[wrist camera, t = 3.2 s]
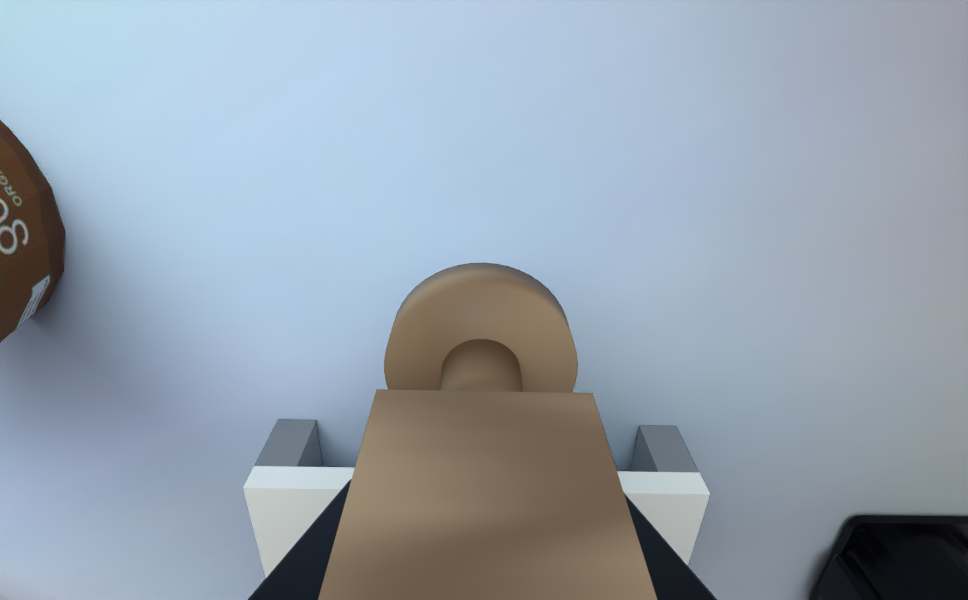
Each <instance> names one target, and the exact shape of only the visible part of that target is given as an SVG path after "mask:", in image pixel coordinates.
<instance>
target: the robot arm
mask: <svg viewBox="0 0 968 600" xmlns="http://www.w3.org/2000/svg"><path fill="white" fill-rule="evenodd" d="M351 480H352V479H350V480H349V481H348V482H347V483H346V485H345V486H344V487H343V488H342V489H341V490H340V492H339V493H338V494H337V495H336V496H335V497H334V499H333V500H332V501H331V502H330V503H329V505H328V506H327V507H326V508H325V509H324V510H323V512H322V513H321V514H320V515H319V516H318V518H317V519H316V520H315V521H314V522H313V523H312V525H311V526H310V527H309V528H308V529H307V530H306V532H305V533H304V534H303V535H302V536H301V538H300V539H299V540H298V541H297V542H296V543H295V545H294V546H293V547H292V548H291V549H290V550H289V552H288V553H287V554H286V555H285V556H284V558H283V559H282V560H281V561H280V562H279V563H278V565H277V566H276V567H275V568H274V569H273V571H272V572H271V573H270V574H269V575H268V576H267V578H266V579H265V580H264V581H263V582H262V583H261V585H260V586H259V587H258V588H257V589H256V591H255V592H254V593H253V594H252V595H251V596H250V598H249V599H248V600H318V598H319V595H320V591H321V587H322V584H323V580H324V577H325V573H326V569H327V566H328V562H329V559H330V555H331V552H332V548H333V544H334V541H335V537H336V534H337V530H338V526H339V523H340V519H341V516H342V512H343V508H344V505H345V501H346V498H347V494H348V491H349V487H350V483H351ZM624 495H625V498H626V502H627V505H628V508H629V511H630V514H631V517H632V521H633V524H634V527H635V530H636V533H637V537H638V540H639V543H640V546H641V549H642V552H643V556H644V559H645V562H646V565H647V568H648V572H649V575H650V578H651V581H652V584H653V587H654V591H655V594H656V597H657V600H717V599H716V598H715V597H714V596H713V594H712V593H711V592H710V591H709V590H708V589H707V588H706V586H705V585H704V584H703V583H702V582H701V581H700V580H699V578H698V577H697V576H696V575H695V574H694V573H693V571H692V570H691V569H690V568H689V567H688V566H687V565H686V563H685V562H684V561H683V560H682V559H681V558H680V556H679V555H678V554H677V553H676V552H675V551H674V550H673V548H672V547H671V546H670V545H669V544H668V543H667V542H666V540H665V539H664V538H663V537H662V536H661V535H660V533H659V532H658V531H657V530H656V529H655V528H654V527H653V525H652V524H651V523H650V522H649V521H648V520H647V518H646V517H645V516H644V515H643V514H642V513H641V512H640V510H639V509H638V508H637V507H636V506H635V505H634V504H633V502H632V501H631V500H630V499H629V498H628V497H627V495H626V494H625V493H624ZM809 600H968V517H953V516H875V515H861V516H856V517H853V518H852V519H850V520H849V522H848V523H847V525H846V527H845V529H844V531H843V533H842V535H841V537H840V539H839V541H838V543H837V545H836V547H835V549H834V551H833V553H832V555H831V557H830V559H829V561H828V563H827V565H826V567H825V569H824V571H823V573H822V575H821V577H820V579H819V581H818V583H817V585H816V587H815V589H814V591H813V593H812V595H811V597H810V599H809Z"/></svg>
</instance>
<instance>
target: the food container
mask: <svg viewBox="0 0 968 600" xmlns="http://www.w3.org/2000/svg"><path fill="white" fill-rule="evenodd" d="M64 249H65V230H64V226H63V223H62V220H61V217H60V214H59V211H58V208H57V204H56V201H55V198H54V195H53V192H52V189H51V186H50V185H49V183H48V182H47V180H46V178H45V177H44V175H43V174H42V172H41V171H40V169H39V167H38V166H37V164H36V163H35V161H34V159H33V158H32V156H31V155H30V153H29V151H28V150H27V149H26V148H25V147H24V145H23V144H22V143H21V142H20V141H19V140H18V138H17V137H16V136H15V135H14V134H13V133H12V131H11V130H10V129H9V128H8V127H7V126H6V125H5V124H4V123H3V122H2V121H0V342H1V341H2V340H3V339H4V338H6V337H7V336H8V335H9V334H10V333H12V332H13V331H14V330H15V329H16V328H17V327H19V326H20V325H21V324H22V323H23V322H25V321H26V320H27V319H28V318H29V317H30V316H32V315H33V314H34V313H35V312H36V311H38V310H39V309H40V308H41V307H42V306H44V305H45V304H46V303H47V302H48V301H49V299H50V297H51V295H52V293H53V291H54V289H55V287H56V285H57V283H58V281H59V279H60V277H61V275H62V273H63V271H64Z"/></svg>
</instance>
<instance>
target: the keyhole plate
mask: <svg viewBox="0 0 968 600" xmlns="http://www.w3.org/2000/svg"><path fill="white" fill-rule="evenodd" d="M354 469H355V467H323V464H322V458H321V451H320V444H319V438H318V431H317V424H316V420H278V421H277V422H276V424H275V426H274V428H273V430H272V432H271V434H270V436H269V438H268V440H267V442H266V444H265V446H264V448H263V450H262V452H261V454H260V456H259V458H258V460H257V461H256V463H255V465H254V467H253V469H252V471H251V473H250V475H249V477H248V479H247V481H246V483H245V485H244V487H243V490H244V494H245V498H246V502H247V506H248V510H249V514H250V518H251V522H252V526H253V530H254V534H255V538H256V542H257V546H258V550H259V554H260V558H261V562H262V566H263V570H264V574H265V578H267V576H268V575H269V574H270V573H271V572H272V571H273V569H274V568H275V567H276V566H277V565H278V563H279V562H280V561H281V560H282V559H283V558H284V556H285V555H286V554H287V553H288V552H289V550H290V549H291V548H292V547H293V546H294V545H295V543H296V542H297V541H298V540H299V539H300V538H301V536H302V535H303V534H304V533H305V532H306V530H307V529H308V528H309V527H310V526H311V525H312V523H313V522H314V521H315V520H316V519H317V518H318V516H319V515H320V514H321V513H322V512H323V510H324V509H325V508H326V507H327V506H328V505H329V503H330V502H331V501H332V500H333V499H334V497H335V496H336V495H337V494H338V493H339V492H340V490H341V489H342V488H343V487H344V486H345V485H346V483H347V482H348V481H349V480H350V479H352V476H353V473H354ZM617 473H618V476H619V479H620V482H621V486H622V489H623V492H624V493H625V494H626V495H627V497H628V498H629V499H630V500H631V501H632V502H633V504H634V505H635V506H636V507H637V508H638V509H639V510H640V512H641V513H642V514H643V515H644V516H645V517H646V518H647V520H648V521H649V522H650V523H651V524H652V525H653V527H654V528H655V529H656V530H657V531H658V532H659V533H660V535H661V536H662V537H663V538H664V539H665V540H666V542H667V543H668V544H669V545H670V546H671V547H672V548H673V550H674V551H675V552H676V553H677V554H678V555H679V556H680V558H681V559H682V560H683V561H684V562H685V563H686V565H687V566H688V563H689V560H690V557H691V554H692V551H693V547H694V544H695V541H696V538H697V535H698V531H699V528H700V525H701V522H702V519H703V516H704V512H705V509H706V506H707V503H708V500H709V497H710V493H709V491H708V489H707V487H706V485H705V483H704V481H703V479H702V477H701V475H700V473H699V471H698V469H697V467H696V465H695V463H694V461H693V459H692V457H691V455H690V453H689V451H688V449H687V447H686V445H685V443H684V441H683V439H682V436H681V434H680V432H679V430H678V428H677V426H639V431H638V435H637V440H636V445H635V450H634V454H633V459H632V464H631V468H630V472H629V471H617Z"/></svg>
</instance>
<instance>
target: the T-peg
mask: <svg viewBox="0 0 968 600" xmlns="http://www.w3.org/2000/svg"><path fill="white" fill-rule="evenodd" d="M577 367H578V362H577V353H576V349H575V345H574V342H573V339H572V335H571V332H570V329H569V325H568V322H567V319H566V316H565V314H564V311H563V309H562V307H561V305H560V304H559V302H558V301H557V299H556V297H555V296H554V295H553V294H552V293H551V292H550V291H549V289H547V288H546V287H545V286H544V285H543V284H542V283H541V282H539V281H538V280H536V279H535V278H533V277H532V276H530V275H528V274H526V273H524V272H522V271H520V270H517V269H514V268H511V267H508V266H504V265H499V264H492V263H469V264H463V265H458V266H454V267H451V268H447V269H445V270H442V271H440V272H438V273H435V274H434V275H432V276H430V277H429V278H427V279H425V280H424V281H423V282H421V283H420V284H419V285H418V286H416V287H415V288H414V289H413V290H412V291H411V292H410V294H409V295H408V296H407V297H406V299H405V300H404V301H403V303H402V304H401V306H400V308H399V310H398V312H397V315H396V318H395V321H394V324H393V327H392V331H391V334H390V338H389V341H388V345H387V348H386V353H385V359H384V372H385V379H386V383H387V387H388V390H376V394H375V397H374V401H373V404H372V408H371V412H370V415H369V419H368V422H367V426H366V430H365V433H364V437H363V440H362V444H361V447H360V451H359V455H358V458H357V462H356V465H355V469H354V473H353V476H352V480H351V483H350V487H349V491H348V494H347V498H346V501H345V505H344V508H343V512H342V516H341V519H340V523H339V526H338V530H337V534H336V537H335V541H334V544H333V548H332V552H331V555H330V559H329V562H328V566H327V569H326V573H325V577H324V580H323V584H322V587H321V591H320V595H319V598H318V600H657V597H656V594H655V591H654V587H653V584H652V581H651V578H650V575H649V572H648V568H647V565H646V562H645V559H644V556H643V552H642V549H641V546H640V543H639V540H638V537H637V533H636V530H635V527H634V524H633V521H632V517H631V514H630V511H629V508H628V505H627V502H626V498H625V495H624V492H623V489H622V486H621V482H620V479H619V476H618V473H617V470H616V466H615V463H614V460H613V457H612V454H611V451H610V447H609V444H608V441H607V438H606V435H605V431H604V428H603V425H602V422H601V419H600V416H599V412H598V409H597V406H596V403H595V400H594V396H593V393H572V391H573V388H574V386H575V382H576V377H577Z"/></svg>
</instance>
